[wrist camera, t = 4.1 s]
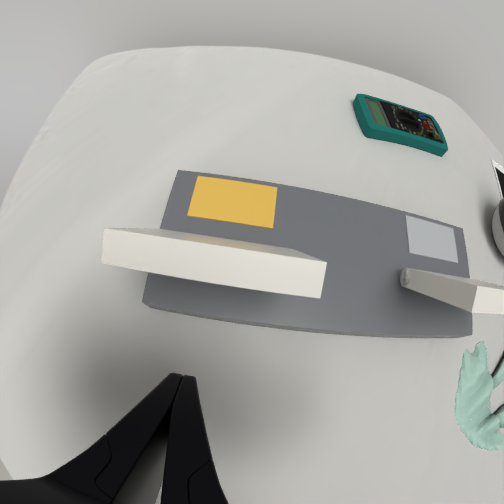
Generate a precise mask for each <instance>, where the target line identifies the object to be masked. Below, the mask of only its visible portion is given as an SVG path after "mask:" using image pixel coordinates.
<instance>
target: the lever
mask: <svg viewBox="0 0 504 504" xmlns="http://www.w3.org/2000/svg"><path fill="white" fill-rule="evenodd" d="M400 283H401V285H402V286H403V287H406V288H408V289H411V290H414V291H416V292H419V293H422V294H424V295H427V296H430V297H432V298H435V299H438V300H440V301H443V302H446V303H448V304H451V305H453V306H456V307H459V308H461V309H464V310H466V311H469V312H472V313H492V314H504V286H500V285H496V284H492V283H488V282H483V281H479V280H475V279H469V278H464V277H458V276H452V275H446V274H441V273H435V272H429V271H423V270H417V269H412V268H406V267H405V268H404V269H403V270H402V272H401V275H400Z"/></svg>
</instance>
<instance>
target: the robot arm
mask: <svg viewBox="0 0 504 504" xmlns="http://www.w3.org/2000/svg"><path fill="white" fill-rule="evenodd" d="M162 480H163V484H162V494H161V504H229V503H228V501H227V499H226V497H225V495H224V493H223V490H222V488H221V485H220V483H219V480H218V476H217V473H216V470H215V466H214V462H213V458H212V454H211V450H210V446H209V442H208V437H207V433H206V428H205V423H204V419H203V414H202V409H201V404H200V399H199V393H198V388H197V382H196V378H195V377H194V376H188V375H184V376H183V375H181V374H176V373H170V374H169V375H168V376H167V377H166V378H165V379H164V380H163V381H162V382H161V383H160V384H159V385H158V386H157V387H155V388H154V389H153V390H152V391H151V392H150V393H149V394H148V395H147V396H146V397H145V398H144V399H143V400H142V401H141V402H140V403H138V404H137V405H136V406H135V407H134V408H133V409H132V410H131V411H130V412H129V413H128V414H127V415H126V416H124V417H123V418H122V419H121V420H120V421H119V422H118V423H117V424H116V425H115V426H114V427H112V428H111V429H110V430H109V431H108V432H107V433H106V435H103V436H102V437H101V438H100V439H99V440H98V441H97V442H96V443H94V444H93V445H92V446H91V447H89V448H88V449H87V450H86V451H84V452H83V453H81V454H80V455H78V456H77V457H76V458H74V459H72V460H71V461H69V462H68V463H66V464H65V465H63V466H61V467H60V468H58V469H57V470H55V471H53V472H52V473H50V474H48V475H46V476H43V477H40V478H34V479H24V480H7V481H6V480H5V481H0V504H155V503H156V499H157V496H158V493H159V490H160V486H161V483H162Z"/></svg>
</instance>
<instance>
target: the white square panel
mask: <svg viewBox="0 0 504 504" xmlns="http://www.w3.org/2000/svg"><path fill="white" fill-rule="evenodd" d="M101 263H104V264H109V265H114V266H119V267H124V268H129V269H135V270H140V271H145V272H151V273H156V274H161V275H167V276H173V277H178V278H184V279H190V280H196V281H202V282H208V283H214V284H221V285H227V286H233V287H240V288H247V289H253V290H260V291H267V292H274V293H282V294H289V295H297V296H304V297H312V298H320V297H321V292H322V287H323V282H324V276H325V271H326V265H327V262H325V261H323V260H320V259H317V258H315V257H312V256H310V255H307V254H304V253H302V252H299V251H297V250H294V249H290V248H283V247H277V246H271V245H264V244H258V243H251V242H245V241H238V240H232V239H225V238H219V237H212V236H205V235H199V234H192V233H185V232H179V231H172V230H165V229H138V228H104V236H103V246H102V256H101Z"/></svg>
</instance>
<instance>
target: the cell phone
mask: <svg viewBox="0 0 504 504" xmlns="http://www.w3.org/2000/svg"><path fill="white" fill-rule="evenodd" d="M491 162H492V166H493V169H494V172H495V176H496V180H497V183H498V187H499V192H500V196H501V199H502V198H503V197H504V168H503V167H502V166H500V165H499V164H498V163H497V162H495V161H494V160H493V159H491Z"/></svg>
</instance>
